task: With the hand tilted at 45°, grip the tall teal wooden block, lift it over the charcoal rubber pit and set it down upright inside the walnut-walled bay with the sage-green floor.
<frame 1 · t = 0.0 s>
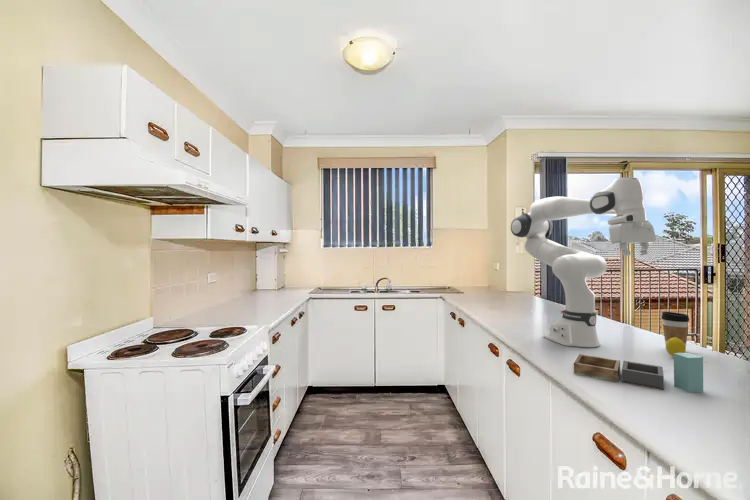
hand: (635, 255, 127), 39 cm above the counter, tool pointing down, fingers open, 8 cm apart
coffee cup: (675, 350, 137), on the counter
teal block: (688, 389, 101), on the counter
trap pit: (642, 380, 107), on the counter
lemon: (675, 358, 128), on the counter
walled bay: (597, 372, 115), on the counter
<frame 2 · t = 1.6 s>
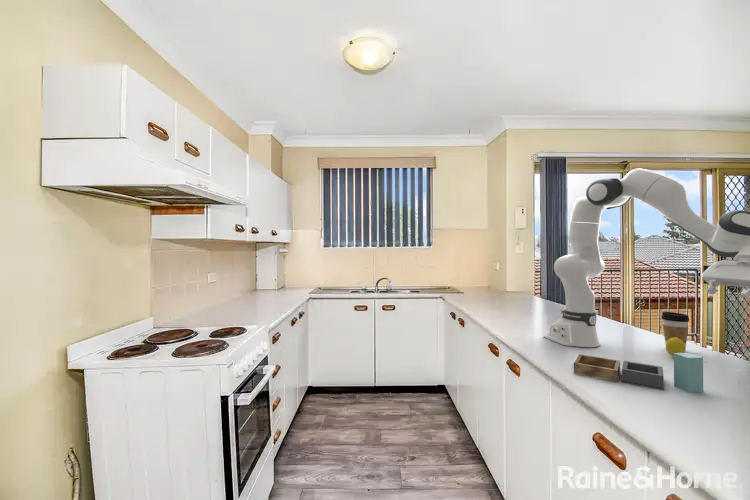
hand: (726, 294, 101), 28 cm above the counter, tool tilted 45°, fingers open, 8 cm apart
nothing on the counter moved.
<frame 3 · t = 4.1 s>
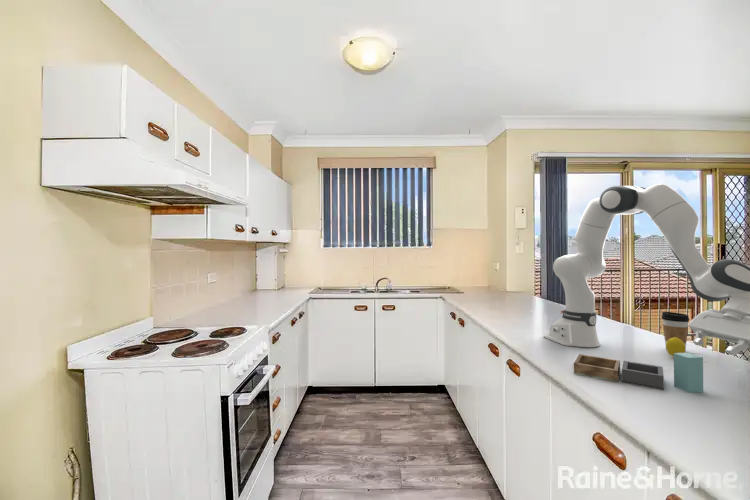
hand: (712, 348, 101), 12 cm above the counter, tool tilted 45°, fingers open, 8 cm apart
nothing on the counter moved.
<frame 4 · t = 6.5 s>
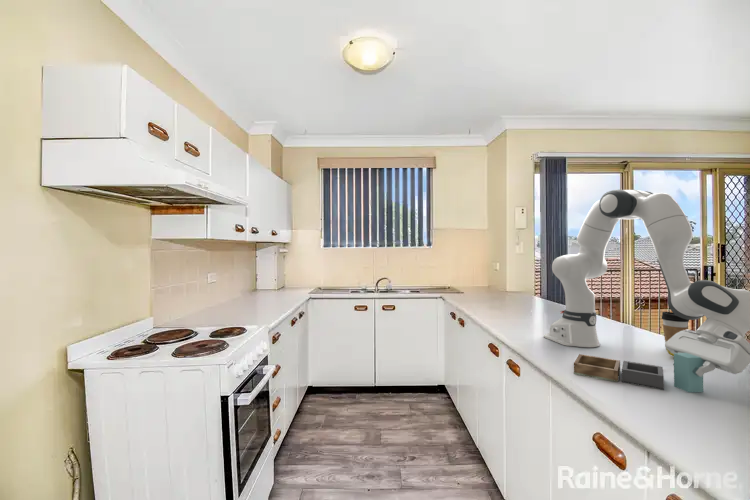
hand: (686, 370, 101), 5 cm above the counter, tool tilted 45°, fingers closed on teal block, 4 cm apart
teal block: (688, 388, 101), on the counter, touching gripper
everything else where it was.
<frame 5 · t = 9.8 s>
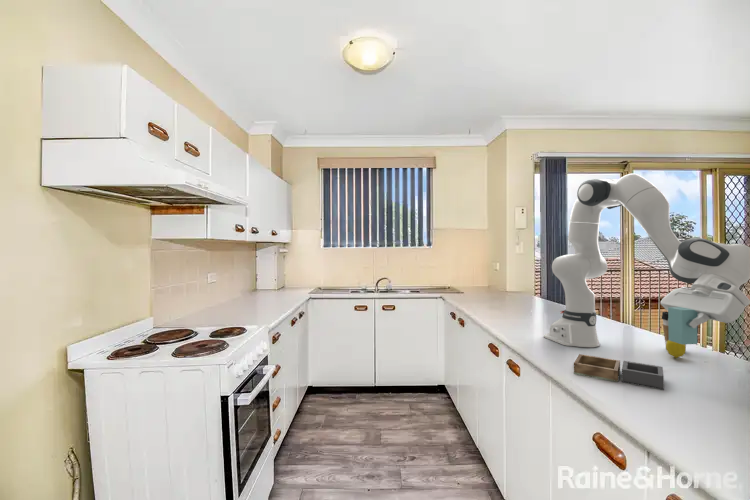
hand: (680, 324, 101), 19 cm above the counter, tool tilted 45°, fingers closed on teal block, 4 cm apart
teal block: (682, 342, 101), point 14 cm above the counter, touching gripper
everything else where it was.
when the fingers open (7 cm above the counter, at t = 13.2 s): teal block stays where it is, resting on walled bay.
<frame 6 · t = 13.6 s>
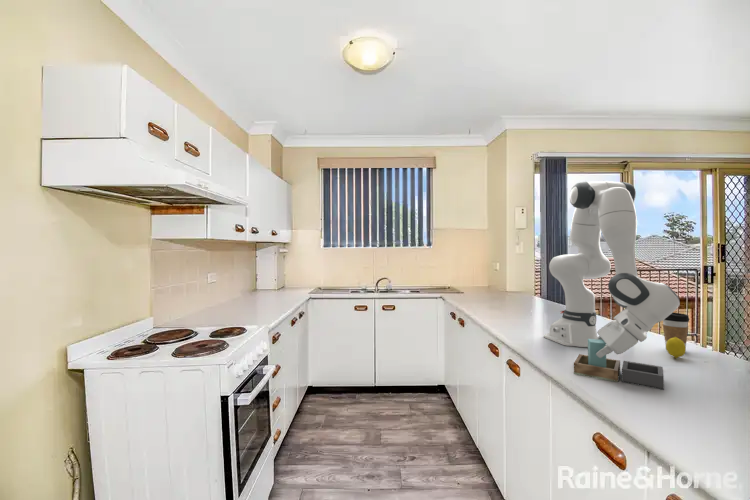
hand: (594, 351, 115), 7 cm above the counter, tool tilted 45°, fingers open, 8 cm apart
teal block: (597, 370, 115), point 1 cm above the counter, touching walled bay
everything else where it was.
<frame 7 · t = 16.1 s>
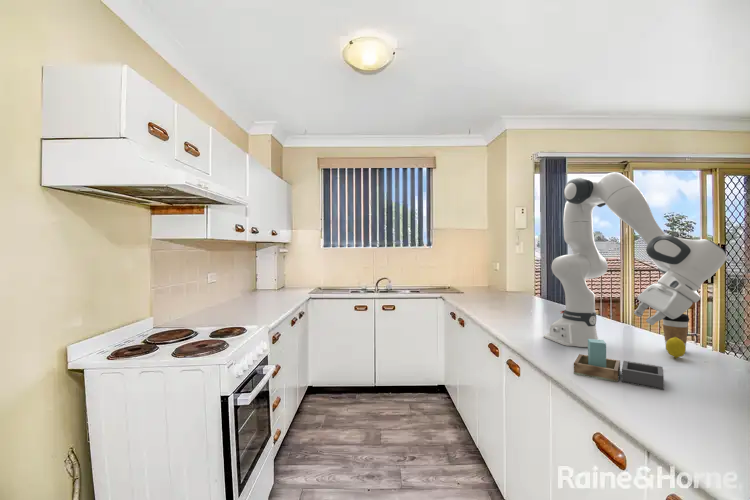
hand: (642, 319, 110), 19 cm above the counter, tool tilted 40°, fingers open, 8 cm apart
nothing on the counter moved.
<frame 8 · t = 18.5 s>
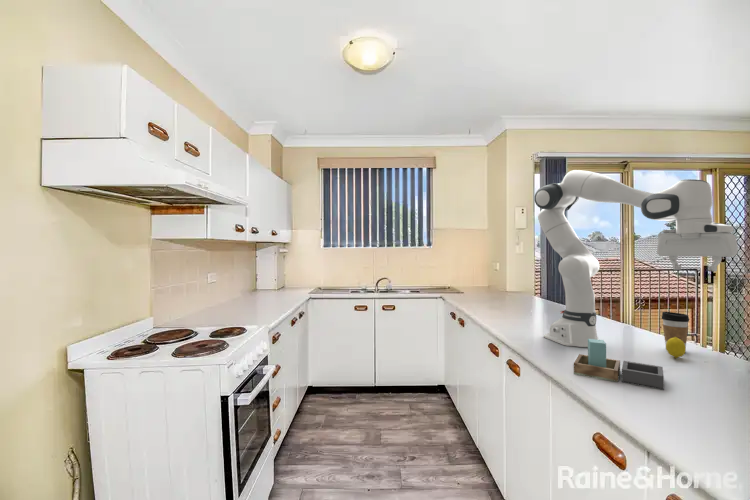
hand: (694, 270, 112), 34 cm above the counter, tool pointing down, fingers open, 8 cm apart
nothing on the counter moved.
at the end: teal block 0.1 cm off-centre on the walled bay, point 0.6 cm above the walled bay's base; teal block tilted 0°; the gripper is holding nothing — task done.
